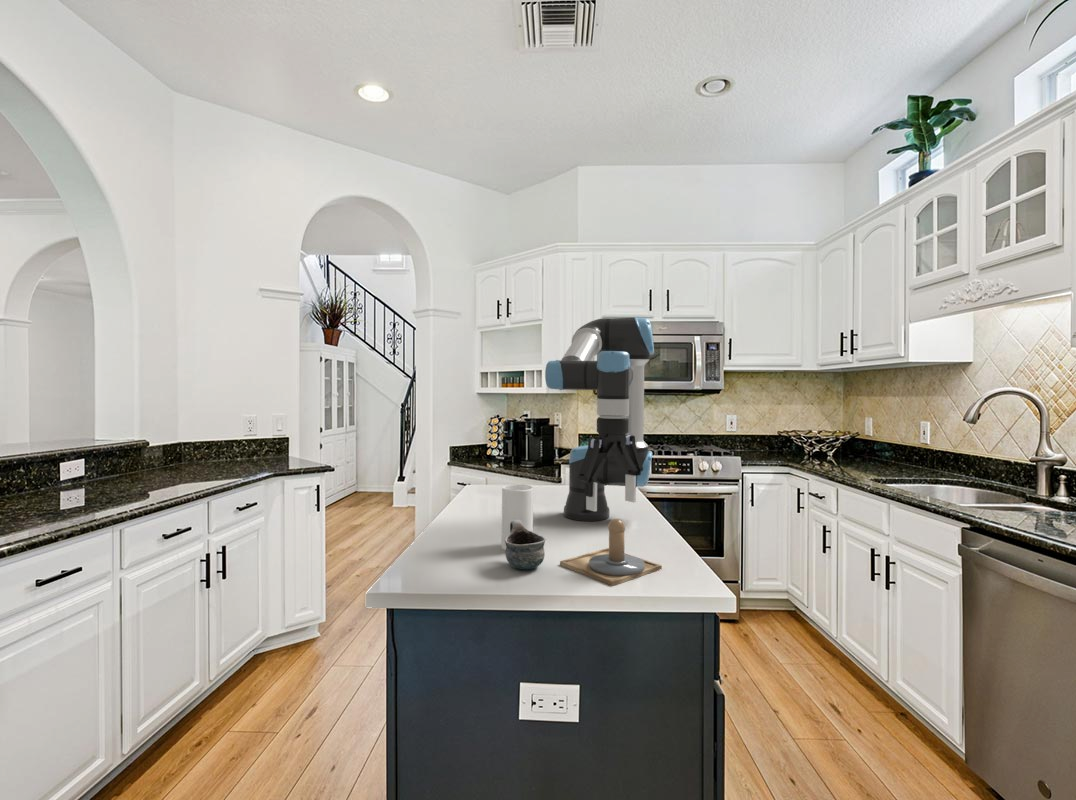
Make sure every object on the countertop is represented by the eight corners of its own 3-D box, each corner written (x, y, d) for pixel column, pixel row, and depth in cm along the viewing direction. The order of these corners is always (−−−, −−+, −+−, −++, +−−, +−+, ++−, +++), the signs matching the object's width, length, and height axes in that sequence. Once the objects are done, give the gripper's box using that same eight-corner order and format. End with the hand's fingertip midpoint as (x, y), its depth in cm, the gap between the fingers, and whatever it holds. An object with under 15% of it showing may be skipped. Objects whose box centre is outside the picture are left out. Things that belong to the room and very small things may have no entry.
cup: (528, 553, 139) (529, 491, 138) (498, 550, 140) (498, 489, 140) (535, 543, 147) (536, 485, 146) (506, 541, 148) (506, 483, 148)
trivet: (608, 551, 141) (608, 548, 141) (661, 569, 128) (661, 565, 128) (560, 564, 130) (560, 561, 130) (612, 585, 117) (613, 581, 117)
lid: (614, 554, 136) (614, 510, 136) (656, 567, 126) (656, 519, 126) (577, 565, 128) (577, 518, 128) (619, 579, 118) (619, 528, 118)
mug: (517, 577, 121) (517, 533, 121) (491, 561, 132) (491, 520, 131) (552, 569, 127) (553, 527, 126) (524, 555, 137) (525, 515, 137)
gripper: (634, 413, 138) (633, 495, 140) (563, 418, 122) (562, 510, 124) (658, 415, 133) (657, 500, 134) (586, 420, 117) (585, 517, 118)
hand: (611, 505), depth 129 cm, fingers open, 13 cm apart
